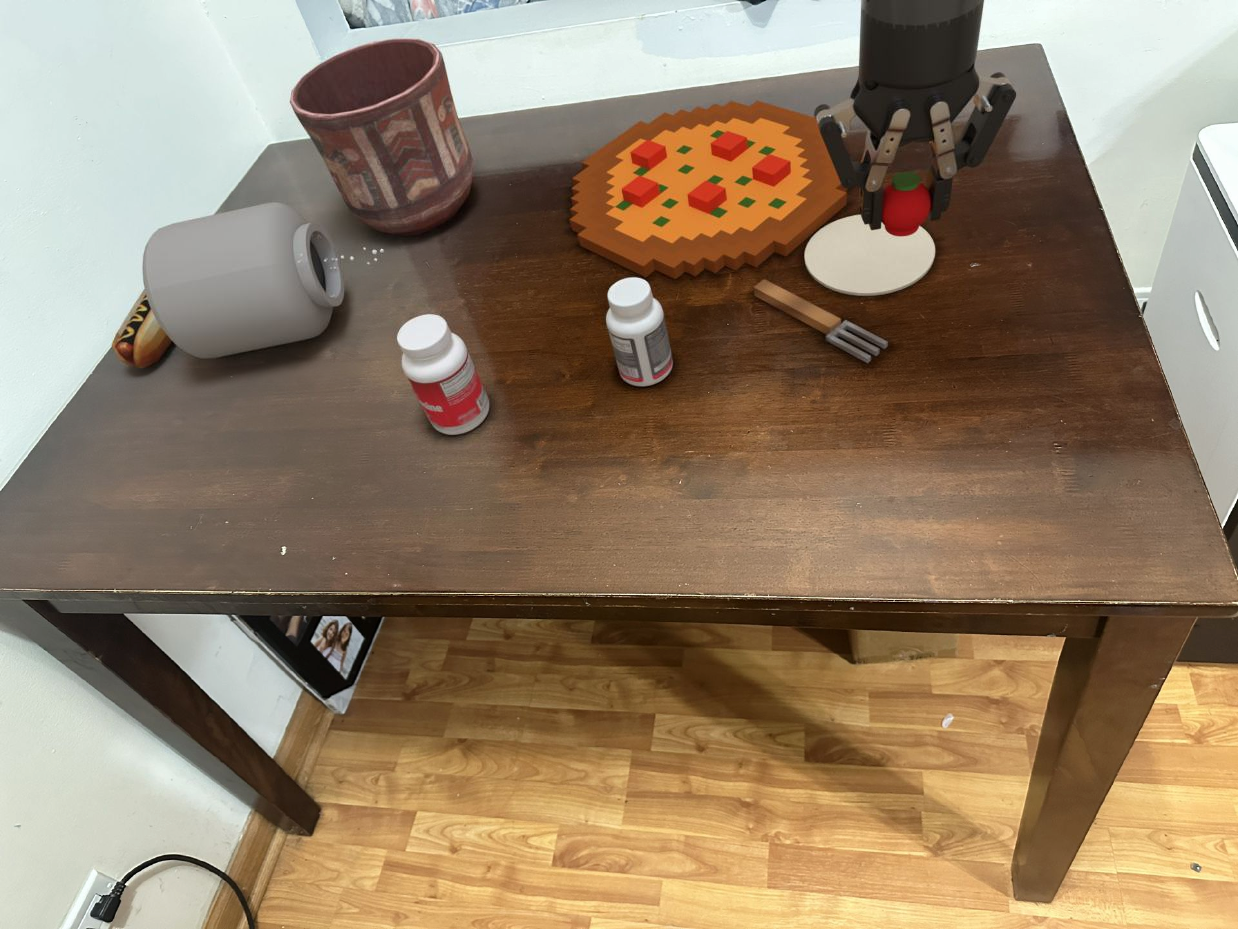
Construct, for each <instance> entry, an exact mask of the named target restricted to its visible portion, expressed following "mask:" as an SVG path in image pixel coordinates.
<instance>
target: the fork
mask: <svg viewBox="0 0 1238 929" xmlns="http://www.w3.org/2000/svg"><path fill="white" fill-rule="evenodd" d="M753 295H754V297H756V298H757V299H759V300H761V301H763V302H765V303H767V304H768V305H771V306H772V307H774V308H776V309H777V310H780V311H782V312H784V313H785V314H787V315H789V316H791V317H793V318H794V319H797V320H798V321H800V322H802V323H804V324H805V325H807V326H809V327H812V329H815V330H817V331H819V332H821V333H822V334H824V335H825V341H826V342H828V343H830V344H831V345H833V346H835V347H837V348H839V349H840V350H842V351H844V352H846V353H848V354H850V355H852V356H853V357H855V358H857V359H858V360H860V361H863V362H865V363H866V364H869V362H871V361H872V356H871V355H873V356H875V357H877V356H878V355H879V354H880V351H881V350H880V348H881V349H884V350H885V349H886V348H888V347H889V342H888V341H887V340H885V339H883V338H882V337H880V336H878V335H876V334H874V333H872V332H870V331H868V330H866V329H864V328H862V327H860V326H858V325H856V324H855V323H852V322H851V321H849V320H847V319H845V320H844V321H842V318H840V317H838V316H836V315H835V314H832V313H831V312H829V311H827V310H825V309H823V308H821V307H819V306H817V305H816V304H813V303H811V302H809V301H808V300H806V299H804V298H802V297H800V296H797V295H796V294H795V293H792V292H790V291H788V290H786V289H784V288H782V287H781V286H778V285H777V284H775V283H773V282H771V281H769V280H768V279H765V278H764V279H762V280H761V281H760V282H758V283H757V284H755V285H754V286H753ZM847 330H848V331H849V332H848V331H847ZM850 332H851V333H850ZM852 333H853V334H852ZM854 334H855V335H854ZM858 336H859V337H858ZM839 337H840V338H842V339H840V338H839ZM861 338H863V339H865V340H866V341H865V340H863V339H861ZM843 339H844V340H843ZM846 341H847V342H849V343H847V342H846ZM869 342H870V343H869ZM850 343H851V344H850ZM871 343H872V344H871ZM852 344H853V345H855V346H856V347H855V346H853V345H852ZM873 344H874V345H873ZM875 345H876V346H875ZM877 346H878V347H877ZM857 347H859V348H860V349H862V350H860V349H859V348H857ZM879 347H880V348H879ZM864 351H866V352H864ZM867 352H868V353H870V354H871V355H870V354H868V353H867Z"/></svg>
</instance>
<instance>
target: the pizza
mask: <svg viewBox="0 0 1238 929" xmlns="http://www.w3.org/2000/svg"><path fill="white" fill-rule="evenodd" d="M581 166H582V170H581V171H579V173H577V174H576V175H574V176H573V177H572V179H571V180H572V184H573V187H571V192H572V197H570V201H571V204H572V207H571V208H569V209H570V214H571V217H570V218H569V219H568V220H569V224H570V227H571V231H573V232H575V233H577V239H578V242H579V246H580V247H582V248H583V249H586V250H588V251H590V252H592V253H594V254H595V255H598V256H601V257H602V258H604V259H607V260H608V261H610V262H613V263H615V264H617V265H619V266H621V267H623V268H625V269H627V270H630V271H631V272H633V273H635V274H638V275H640V276H642V277H643V278H647V277H648V276H650V275H651V274H652V273H653V272H654V271H657V272H659V273H661V274H664V275H665V276H668V277H669V278H672V279H674V280H677V279H679V277H681V276H682V275H683V274H684V273H686V274H689V275H692V276H694V277H697V276H698V275H699V274H700V273H702V272H703V271H705V270H706V271H708V272H711V273H713V274H717V273H718V272H719V271H720V270H722V269H723V268H724V267H727V268H729V269H732V270H733V271H737V270H738V269H740V268H741V267H742V266H744V265H745V264H747V265H750V266H752V267H754V268H758V267H759V266H760V265H761V264H763V262H765V261H766V260H767V259H769V258H770V257H771V256H772V255H773V254H774V253H775V254H779V255H780V256H783V257H787V256H789V255H790V254H791V253H792V252H793V251H794V250H796V249H797V248H798V247H799V246H800V245H801V244H803V243H804V242H805V241H807V239H808V238H810V237H812V236H813V235H814V234H815V232H817V231H819V230H820V229H821V227H822V226H824V224H826V223H827V222H828V221H829V220H831V219H832V218H833V217H834V216H836V214H837V213H839V212H840V211H841V210H842V209H843V208H844V207H846V206H847V203H848V192H847V191H848V190H849V189H846V188H844V187H843V186H842V184H841V182H840V180H839V177H838V175H837V172H836V170H835V167H834V165H833V163H832V160H831V158H830V155H829V153H828V150H827V148H826V145H825V143H824V141H823V138H822V136H821V133H820V130H819V128H818V125H817V122H816V119H815V116H811V115H808V114H804V113H801V112H797V111H794V110H790V109H787V108H784V107H780V106H777V105H774V104H771V103H768V102H763V101H761V100H756V101H754V102H753V103H751V104H750V105H747V104H743V103H740V102H737V101H734V100H730V101H728V102H727V103H726V104H724V105H720V104H717V103H713V104H712V105H710V106H708V108H704V107H700V106H697V107H695V108H694V109H691V111H687V110H685V109H680V110H678V111H677V112H675V113H674V114H671V113H668V112H663V113H661V114H660V115H659V116H657V117H655V119H653V120H652V121H650V122H644V121H642V120H639V121H638V122H636V123H635V124H634V125H632V126H631V127H629V128H628V129H627V130H625V131H623V132H622V133H621V134H619V135H618V136H617V137H615V138H613V139H612V140H611V141H610V142H608V143H607V144H605V145H603V147H601V148H600V149H598V150H597V151H596V152H594V153H593V154H591V155H589V156H588V157H586V159H583V161H581Z"/></svg>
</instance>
